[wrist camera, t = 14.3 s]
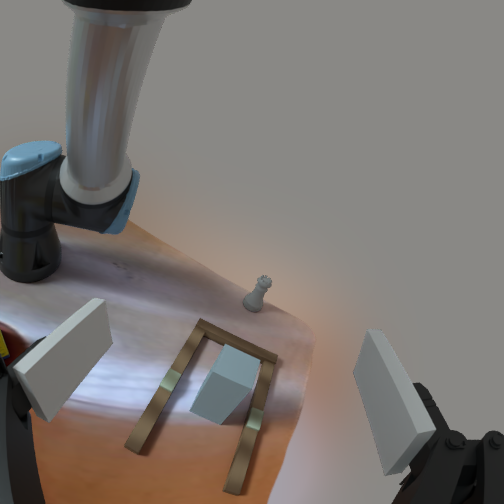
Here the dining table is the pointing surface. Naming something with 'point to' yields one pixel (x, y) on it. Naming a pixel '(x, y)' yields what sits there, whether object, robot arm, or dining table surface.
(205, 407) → the blue-grey tall rectangular block
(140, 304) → the dining table surface
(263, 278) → the rook chess piece
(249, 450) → the brown u-shaped frame
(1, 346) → the supplement box
